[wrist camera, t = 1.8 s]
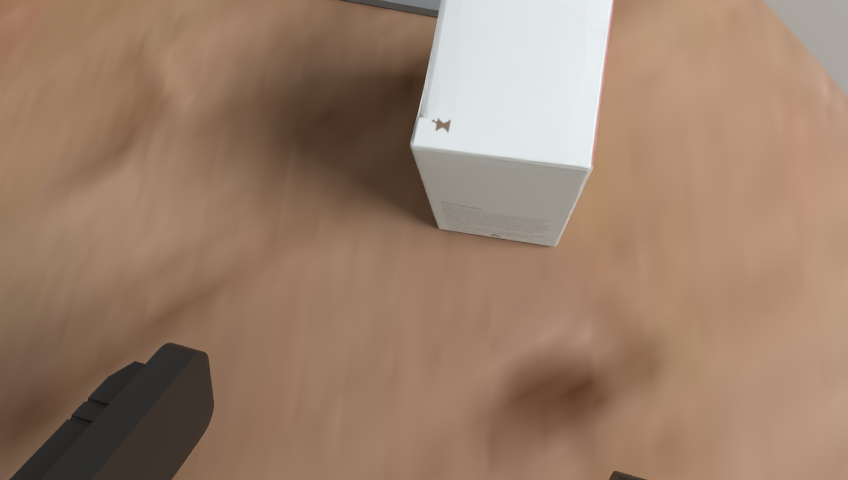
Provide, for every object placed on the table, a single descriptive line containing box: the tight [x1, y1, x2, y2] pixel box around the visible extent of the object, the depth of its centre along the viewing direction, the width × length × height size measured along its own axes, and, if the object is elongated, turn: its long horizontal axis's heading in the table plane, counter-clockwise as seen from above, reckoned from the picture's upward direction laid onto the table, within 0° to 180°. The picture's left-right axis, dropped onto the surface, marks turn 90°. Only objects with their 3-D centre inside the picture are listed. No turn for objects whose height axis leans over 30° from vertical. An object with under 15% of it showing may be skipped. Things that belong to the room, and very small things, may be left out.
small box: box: [410, 0, 614, 247], centre depth 24 cm, size 8×6×10 cm
